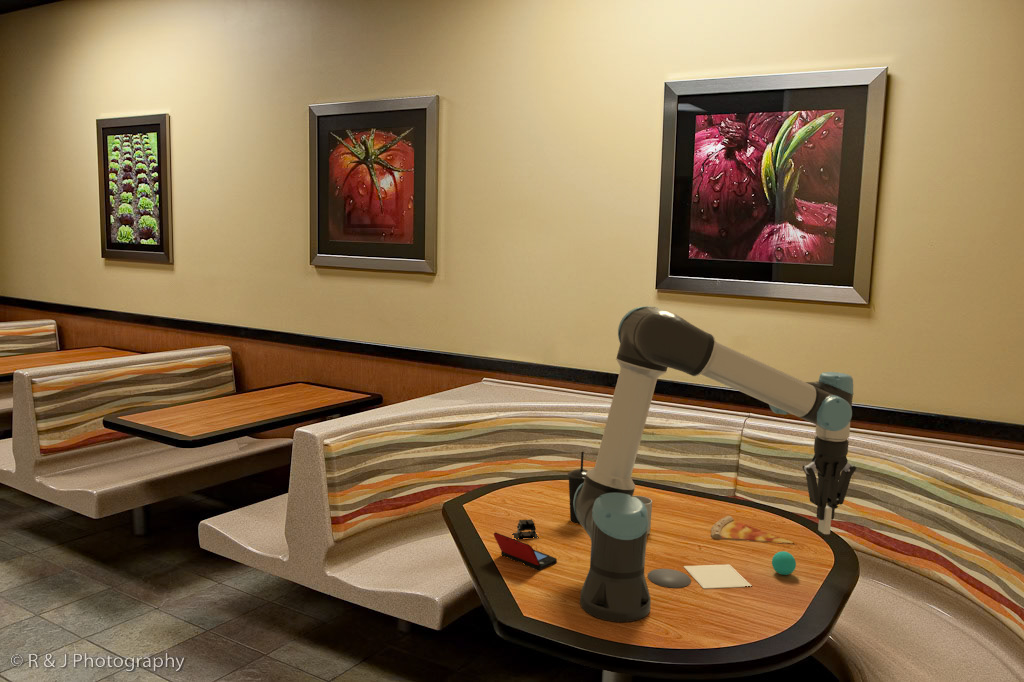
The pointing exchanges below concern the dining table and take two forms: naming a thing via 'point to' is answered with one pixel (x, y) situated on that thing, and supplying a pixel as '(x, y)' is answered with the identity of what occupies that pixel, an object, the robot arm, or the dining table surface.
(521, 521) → the black boxy piece
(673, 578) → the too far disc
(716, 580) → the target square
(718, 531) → the pizza slice
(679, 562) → the dining table surface
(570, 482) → the drinking cup
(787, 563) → the ball
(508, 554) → the handheld game console
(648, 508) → the cup
